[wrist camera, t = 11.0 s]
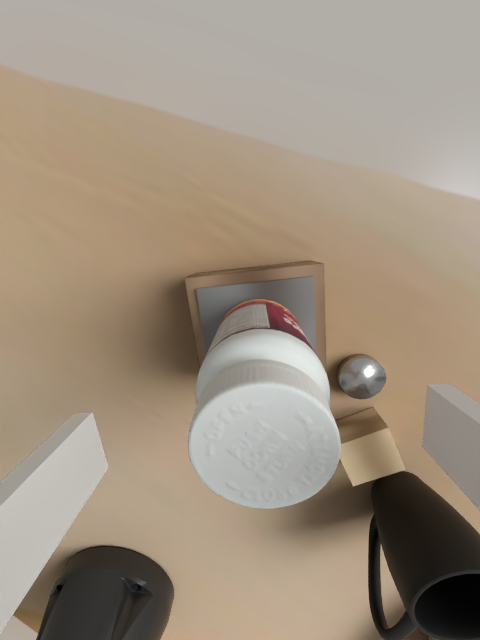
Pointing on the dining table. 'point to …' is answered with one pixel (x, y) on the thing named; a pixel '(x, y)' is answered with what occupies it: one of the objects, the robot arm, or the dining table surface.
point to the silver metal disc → (361, 376)
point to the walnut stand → (259, 283)
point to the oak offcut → (367, 447)
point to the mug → (424, 561)
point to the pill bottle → (263, 411)
